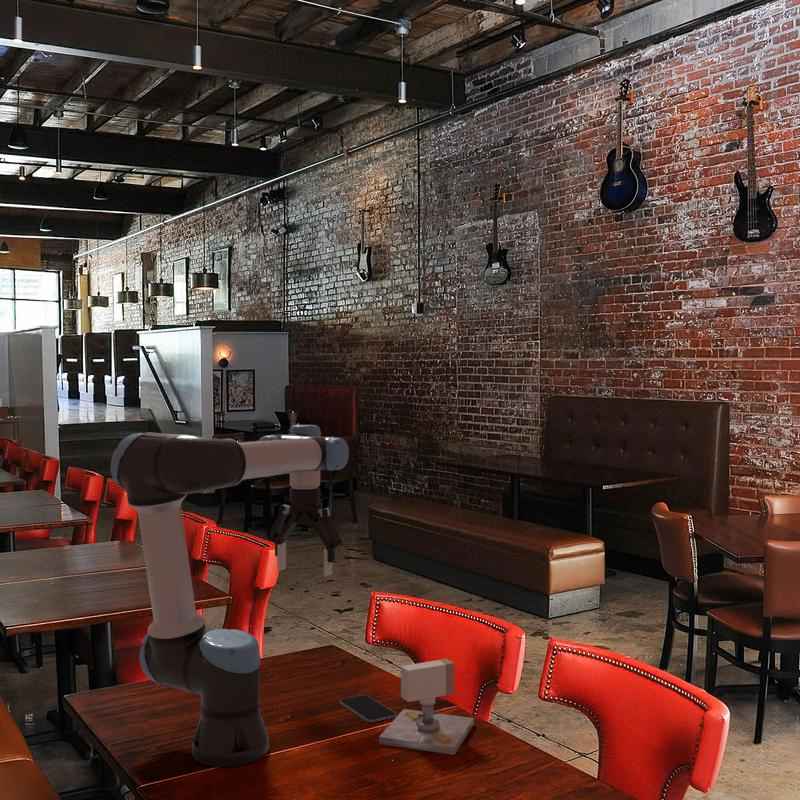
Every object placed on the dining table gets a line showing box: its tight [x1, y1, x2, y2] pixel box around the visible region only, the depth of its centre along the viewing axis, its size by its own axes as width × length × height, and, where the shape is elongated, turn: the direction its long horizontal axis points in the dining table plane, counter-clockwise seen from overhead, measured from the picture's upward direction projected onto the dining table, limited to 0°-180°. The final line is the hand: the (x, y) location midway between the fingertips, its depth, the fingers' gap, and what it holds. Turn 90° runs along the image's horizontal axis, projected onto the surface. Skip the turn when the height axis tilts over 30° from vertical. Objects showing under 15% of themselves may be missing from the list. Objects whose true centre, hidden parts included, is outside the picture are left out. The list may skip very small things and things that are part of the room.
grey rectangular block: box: [400, 658, 455, 706], centre depth 185 cm, size 11×3×8 cm, turn 116°
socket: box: [378, 704, 475, 756], centre depth 186 cm, size 16×16×6 cm
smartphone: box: [339, 694, 397, 724], centre depth 200 cm, size 7×1×15 cm
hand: (304, 572), depth 218 cm, fingers open, 13 cm apart
